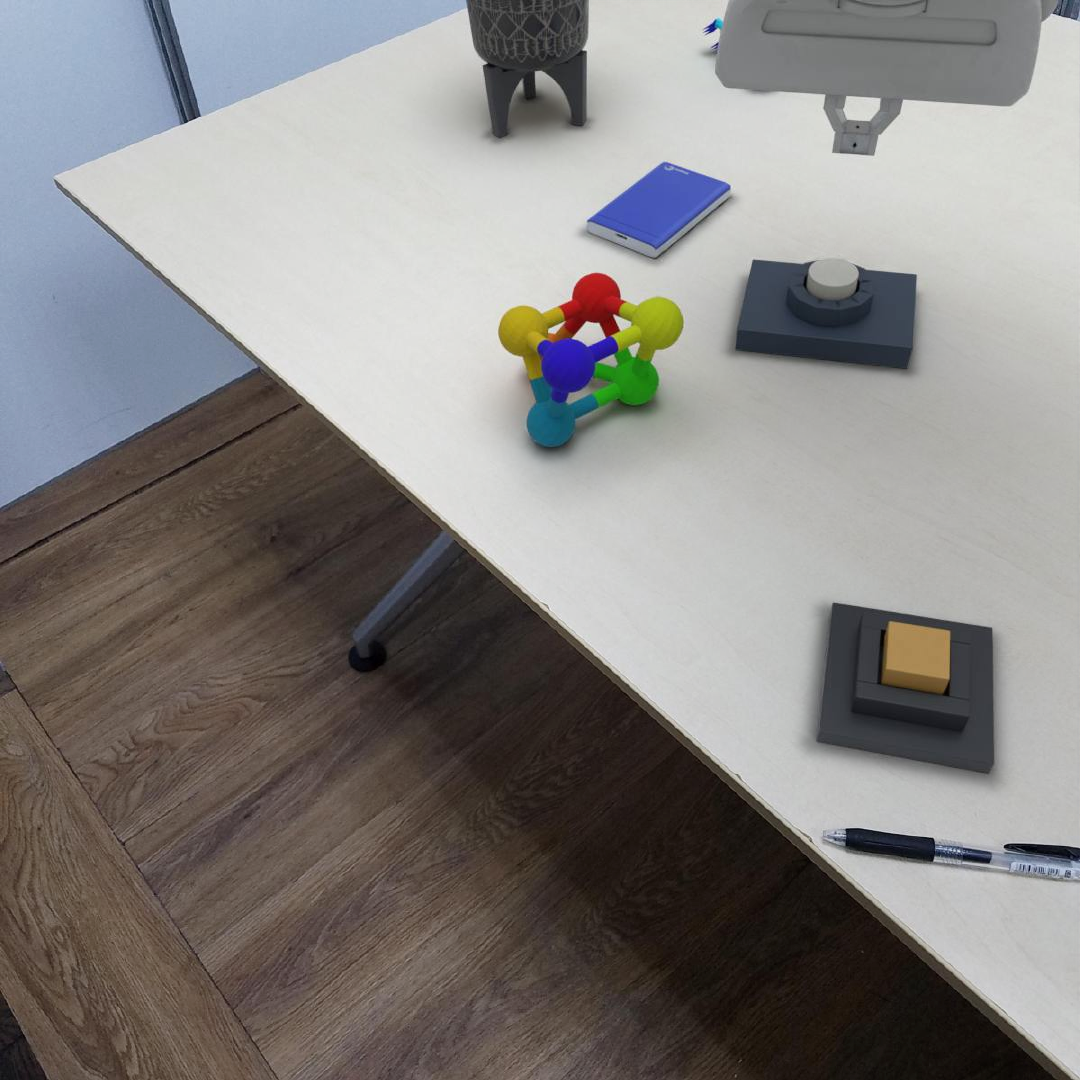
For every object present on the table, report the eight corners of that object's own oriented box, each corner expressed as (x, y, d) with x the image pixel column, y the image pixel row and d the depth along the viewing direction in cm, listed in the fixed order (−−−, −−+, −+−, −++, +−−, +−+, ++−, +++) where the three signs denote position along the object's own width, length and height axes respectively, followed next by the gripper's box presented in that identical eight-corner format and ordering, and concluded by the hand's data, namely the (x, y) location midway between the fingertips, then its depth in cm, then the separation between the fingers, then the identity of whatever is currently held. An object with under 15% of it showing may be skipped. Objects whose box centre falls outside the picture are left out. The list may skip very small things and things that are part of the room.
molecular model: (511, 359, 90) (610, 214, 83) (614, 450, 89) (724, 311, 81) (422, 392, 77) (530, 225, 70) (541, 500, 76) (664, 341, 68)
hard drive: (662, 159, 106) (586, 217, 100) (731, 183, 102) (656, 245, 96) (662, 173, 107) (587, 232, 101) (730, 198, 103) (656, 259, 98)
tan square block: (944, 646, 65) (950, 630, 64) (943, 695, 63) (949, 679, 61) (884, 636, 66) (889, 620, 64) (880, 684, 63) (886, 668, 62)
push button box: (912, 295, 92) (921, 256, 88) (907, 369, 85) (917, 329, 82) (750, 279, 95) (754, 241, 92) (735, 349, 88) (738, 311, 85)
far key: (857, 275, 88) (860, 259, 87) (853, 304, 86) (857, 288, 84) (808, 270, 89) (811, 255, 88) (804, 299, 86) (806, 283, 85)
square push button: (987, 638, 68) (1000, 610, 66) (989, 773, 62) (1002, 748, 60) (830, 612, 70) (836, 585, 68) (816, 741, 64) (823, 715, 62)
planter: (527, 160, 111) (512, -17, 97) (455, 118, 117) (432, -53, 104) (618, 116, 115) (616, -59, 102) (545, 77, 122) (534, -91, 109)
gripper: (1071, -75, 64) (1006, 138, 74) (733, -86, 68) (717, 117, 78) (1079, -31, 60) (1009, 187, 70) (720, -46, 64) (705, 162, 74)
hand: (853, 150), depth 74 cm, fingers closed
